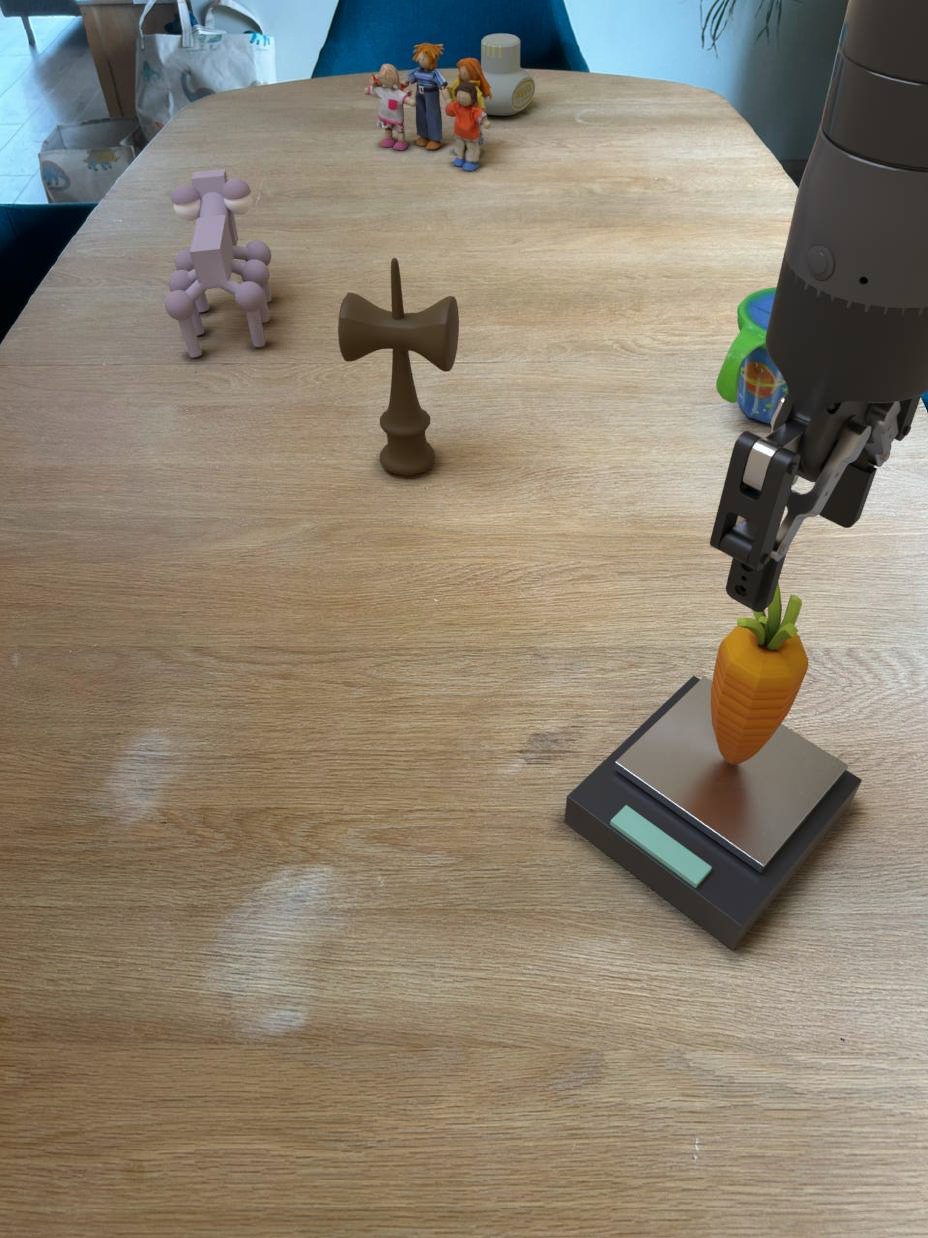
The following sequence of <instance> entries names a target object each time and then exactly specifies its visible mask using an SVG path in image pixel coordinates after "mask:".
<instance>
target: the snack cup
mask: <svg viewBox="0 0 928 1238" xmlns="http://www.w3.org/2000/svg"><path fill="white" fill-rule="evenodd" d="M776 288H777V286H775V287H766V288H763V289H759V290H756V291H753V292H752V293H750V294H748V295H747V296H745V297H744V298H743V300H742V301H741V302H740V303H739V304H738V306H737V310H736V313H737V326H738V327H737V328H738V330H739V332H738V334H737V335H736V337H735V339H734V340H733V341H732V344H731V345H730V347H729V349H728V351H727V353H726V355H725V358H724V361H723V363H722V365H721V368H720V370H719V373H718V375H717V378H716V385H715V386H716V387H715V388H716V392H717V393H718V394H719V396H720V397H721V398H722V399H723V400H725V401H726V402H727V403H729V404H735V403H736V402H737V403H738V405H739V407H740V408H741V410H742V411H743V412H744V414H745V416H746V417H748V418H750V419H755V420H757V421H760V422H761V423H766V424H769V425H771V419H772V417H773V415H774V413H775V411H776V409H777V407H778V405H779V403H780V401H781V400H782V398H783V397H784V396H785V394H786V393H788V387H787V384H786V382H785V380H784V378H783V376H782V375H781V373H780V372H779V370H778V369H777V367H776V366H775V365H774V363H773V362H772V361H771V359H770V357H769V355H768V352H767V349H766V333H767V328H768V324H769V319H770V315H771V310H772V306H773V301H774V297H775V292H776Z"/></svg>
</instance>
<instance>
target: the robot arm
mask: <svg viewBox="0 0 928 1238" xmlns="http://www.w3.org/2000/svg"><path fill="white" fill-rule="evenodd" d="M822 110H823V111H822V114H821V115H822V116H821V122H820V123H819V126H818V130H817V134H816V137H815V141H814V143H813V147H812V150H811V153H810V155H809V157H808V160H807V163H806V166H805V168H804V170H803V174H802V177H801V180H800V183H799V185H798V186H799V187H798V190H797V194H796V199H795V203H794V207H793V212H792V217H791V222H790V226H789V231H788V236H787V239H786V245H785V248H784V252H783V257H782V261H781V266H780V270H779V275H778V279H777V283H776V287H777V288H776V292H775V297H774V301H773V306H772V310H771V315H770V319H769V324H768V328H767V333H766V349H767V352H768V355H769V357H770V359H771V361H772V362H773V363H774V365H775V366H776V367H777V369H778V370H779V372H780V373H781V375H782V376H783V378H784V380H785V382H786V384H787V387H788V393H786V394H785V396H784V397H783V398H782V400H781V401H780V403H779V405H778V407H777V409H776V411H775V413H774V415H773V417H772V419H771V424H770V426H771V429H770V432H769V434H768V435H767V436H764V437H762V436H760V435H758V434H756V433H754V432H751V431H749V430H745V431H743V432H741V434H740V435H739V436H738V437H737V439H736V440H735V441H734V444H733V446H732V447H733V448H732V451H731V455H730V459H729V463H728V467H727V472H726V475H725V479H724V483H723V486H722V492H721V496H720V499H719V503H718V508H717V511H716V515H715V520H714V523H713V527H712V531H711V534H710V535H711V536H710V538H709V546H710V547H712V548H714V549H716V550H718V551H720V552H722V553H724V554H725V555H727V556H729V557H731V558H732V559H731V563H730V564H731V565H730V567H729V572H728V576H727V579H726V585H725V592H726V594H727V596H728V597H729V598H731V599H732V600H734V601H735V602H737V603H739V604H741V605H743V606H744V607H747V609H750V610H753V611H755V612H763V611H766V609H768V606H769V605H770V604H771V603H772V601H773V598H774V595H775V591H776V588H777V584H778V583H779V580H780V577H781V574H782V570H783V567H784V564H785V560H786V556H787V553H788V552H789V549H790V546H791V545H792V542H793V540H794V538H795V537H796V535H797V533H798V531H799V530H800V528H801V526H802V524H803V522H804V521H805V520H806V519H808V518H815V517H817V516H818V515H819V516H820V517H822V518H824V519H825V520H828V521H829V522H832V523H834V524H836V525H838V526H840V527H842V528H844V529H850V528H851V527H853V526H854V525H855V524H856V523H857V522H858V521H859V520H860V519H861V516H862V513H863V512H864V511H863V510H864V508H865V505H866V503H867V499H868V496H869V494H870V491H871V488H872V485H873V482H874V479H875V477H876V473H877V470H878V468H880V467H882V466H883V465H884V464H885V463H886V462H887V461H888V460H889V459H890V457H891V451H892V447H893V446H892V444H893V442H894V440H896V441H898V442H901V441H903V440H904V439H905V437H907V436H908V435H909V434H910V432H911V430H912V424H913V421H914V418H915V416H916V412H917V410H918V407H919V403H920V400H921V398H922V395H923V394H926V393H928V0H848V3H847V7H846V11H845V15H844V20H843V24H842V28H841V32H840V35H839V39H838V44H837V48H836V54H835V58H834V61H833V66H832V71H831V76H830V80H829V84H828V89H827V93H826V96H825V101H824V105H823V109H822ZM799 477H800V478H802V479H804V480H805V481H808V482H810V483H814V484H813V486H812V488H811V489H810V490H809V491H808V492H805V493H801V492H798V491H796V490H794V489H792V488H793V486H794V485H795V484H797V482H798V480H799ZM786 509H787V512H786V515H785V517H784V514H785V510H786ZM783 517H784V518H783ZM753 611H752V612H753Z"/></svg>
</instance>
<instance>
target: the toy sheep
mask: <svg viewBox="0 0 928 1238" xmlns="http://www.w3.org/2000/svg"><path fill="white" fill-rule="evenodd" d="M190 180H191V184H189V183H181V184H179V185H176V186H175V188H174V189H173V190H172V192H171V202H172V203H173V211H174V212H175V214H176V215H177V217H178V218H179V219H181V220H182V221H186V222H193V221H196V222H195V226H194V231H193V235H192V236H193V237H192V240H191V245H190V248H184V249H181V250H179V252H178V253H177V254H176V255H175V258H174V266H175V269H176V270H174V271H173V272H172V273H171V275H170V276H169V278H168V282H167V283H168V285H167V286H168V290H169V291H170V292H169V293H168V294H167V296H166V297H165V300H164V308H165V311H166V313H167V314H168V316H169V317H171V318H172V319H173V320H176V321H177V322H178V325H179V328H180V331H181V334H182V337H183V340H184V342H185V346H186V349H187V352H188V355H189V358H198V357H200V356H202V354H203V351H202V348H201V344H200V341H199V339H198V336H201V335H203V334H204V333H205V328H204V324H203V322H202V319H201V316H200V313H203V312H206V311H209V310H210V305H209V302H208V298H207V296H206V293H205V292H206V291H207V290H211V289H212V290H213V289H221V290H223V291H225V292H227V293H228V294H230V295H232V296H233V297H234V300H235V302H236V304H237V306H238V308H240V309H241V310H242V311H245V313H246V319H247V324H248V329H249V333H250V338H251V343H252V345H253V346H254V347H256V348H261V347H264V346H265V345H266V339H265V335H264V334H265V333H264V329H263V324H262V323H268V322H269V321H270V319H271V318H270V311H269V306H268V303H269V302H272V293H271V288H270V287H271V286H270V276H271V275H270V273H271V272H270V270H269V268H268V266H269V265H270V263H271V262H272V251H271V249H270V246H268V244H267V243H265V242H264V241H262V240H252V241H249V242H248V243H246V245H245V246H240V245H238V241H239V235H238V229H237V225H236V219H235V215H237V216H238V215H244V214H247V213H248V212H249V211H250V210H251V208H252V206H253V195H252V191H251V188H250V185H249V184H248V183H247V182H246V181H245V180H244V179H242V178H239V177H232V178H230V179H228V174H227V169H226V168H219V169H210V170H201V171H193V172H192V175H191V178H190ZM240 260H241V261H240ZM243 261H245V262H243ZM232 274H235V275H239V276H240V277H241V280H242V282H241V283H239V282H238V281H236V280H234V279H232Z"/></svg>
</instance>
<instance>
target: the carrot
mask: <svg viewBox="0 0 928 1238" xmlns="http://www.w3.org/2000/svg"><path fill="white" fill-rule="evenodd" d="M781 595H782V594H781V588H780V584H779V582H778V584H777V588H776V591H775V595H774V598H773V601H772V603H771V604H770V605H769V606H768V607H767V614H766V610H764V611H763V612H755V611H753V610H752V609H751V610H752V613H753V616H754V618H751V617H737V619H736V620H737V621H736V623H737V624H736V625H735V627H734V628H733V629H731V631H730V632H729V633H728V634H727V635H726V636H725V637H724V638H723V639H722V641H721V642H720V644H719V646H718V650H717V653H716V654H717V655H716V659H715V664H714V669H713V675H712V680H711V681H712V687H711V716H712V725H713V729H714V733H715V737H716V740H717V744H718V748H719V751H720V753H721V755H722V756H723V758H724V760H725V761H727V762H728V763H730V764H740V763H742V762H744V761H747V760H749V759H750V758H751V757H753V756H754V755H755V754H756V753H758V752H759V751H760V749H761V748H762V747H763V746H764V745H765V744H766V743H767V742H768V740H769V739H770V738H771V737H772V735H773V734H774V733H775V731H776V730H777V729H778V727H779V726H780V725H781V724H782V723H783V722H784V721H785V719H786V717H787V716H788V714H789V713H790V711H791V710H792V707H793V705H794V703H795V701H796V699H797V696H798V694H799V692H800V689H801V687H802V684H803V682H804V679H805V676H806V675H807V672H808V669H809V658H808V656H807V652H806V650H805V648H804V645H803V641H802V639H801V637H800V635H799V634H798V633H799V630H798V628H797V626H796V622H797V620H798V618H799V616H800V611H801V610H802V606H803V601H802V599H801V598H800V597H799V596H798V595H795V594H790V596H789V600H788V603H787V606H786V609H785V613H784V616H783V619H782V612H783V603H782V596H781Z"/></svg>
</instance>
